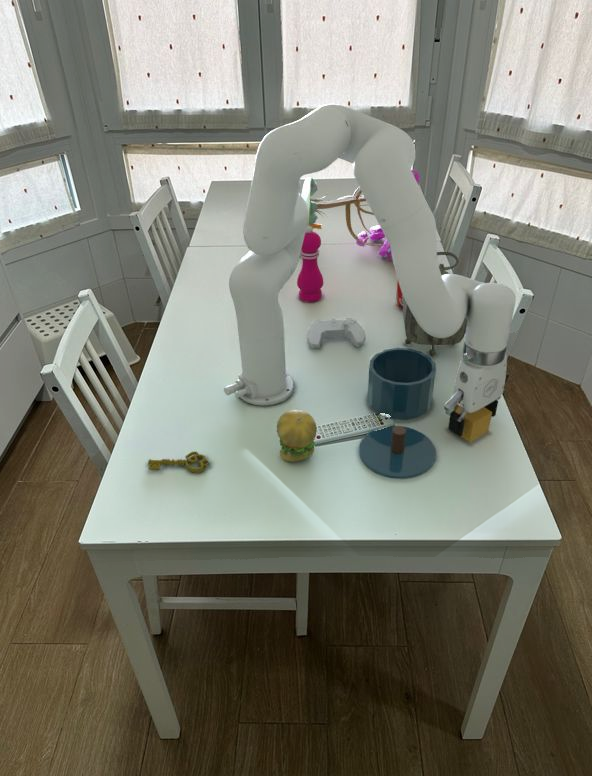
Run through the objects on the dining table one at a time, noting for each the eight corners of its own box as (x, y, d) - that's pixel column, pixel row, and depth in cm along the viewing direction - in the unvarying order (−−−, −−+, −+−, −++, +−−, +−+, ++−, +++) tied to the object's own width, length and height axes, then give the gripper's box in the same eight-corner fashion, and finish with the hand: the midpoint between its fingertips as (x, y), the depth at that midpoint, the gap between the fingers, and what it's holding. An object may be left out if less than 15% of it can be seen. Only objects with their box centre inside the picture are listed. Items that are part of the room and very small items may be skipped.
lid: (395, 492, 115) (397, 467, 111) (343, 450, 124) (344, 426, 121) (451, 458, 122) (455, 434, 118) (398, 420, 131) (400, 397, 127)
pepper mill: (320, 304, 170) (320, 232, 158) (294, 302, 172) (292, 231, 159) (325, 291, 176) (325, 221, 163) (300, 289, 177) (298, 220, 164)
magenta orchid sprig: (304, 138, 186) (418, 151, 191) (292, 219, 209) (395, 229, 213) (307, 199, 169) (433, 212, 173) (294, 280, 192) (405, 290, 196)
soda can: (391, 309, 167) (394, 267, 160) (400, 298, 172) (404, 256, 164) (416, 315, 165) (420, 273, 157) (425, 303, 169) (430, 261, 162)
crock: (397, 430, 129) (401, 393, 123) (354, 399, 137) (356, 362, 131) (444, 405, 135) (449, 368, 129) (400, 376, 143) (403, 340, 137)
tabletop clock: (459, 341, 154) (474, 244, 138) (463, 361, 147) (480, 262, 132) (399, 340, 155) (408, 243, 139) (401, 360, 148) (410, 261, 132)
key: (145, 467, 120) (151, 450, 124) (146, 472, 121) (152, 454, 125) (207, 469, 119) (211, 451, 123) (207, 473, 120) (211, 456, 124)
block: (469, 444, 125) (473, 423, 121) (448, 430, 128) (452, 409, 125) (487, 433, 127) (492, 412, 124) (467, 420, 131) (470, 398, 127)
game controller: (307, 343, 149) (304, 314, 156) (307, 356, 153) (304, 328, 159) (368, 339, 150) (362, 311, 156) (366, 352, 153) (361, 324, 160)
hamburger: (306, 441, 127) (305, 394, 119) (324, 463, 122) (324, 414, 114) (272, 454, 124) (268, 406, 116) (288, 476, 119) (286, 428, 111)
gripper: (467, 376, 109) (456, 450, 120) (531, 342, 117) (515, 414, 128) (435, 358, 114) (427, 431, 125) (499, 326, 122) (486, 397, 132)
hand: (471, 422), depth 126 cm, fingers open, 9 cm apart
